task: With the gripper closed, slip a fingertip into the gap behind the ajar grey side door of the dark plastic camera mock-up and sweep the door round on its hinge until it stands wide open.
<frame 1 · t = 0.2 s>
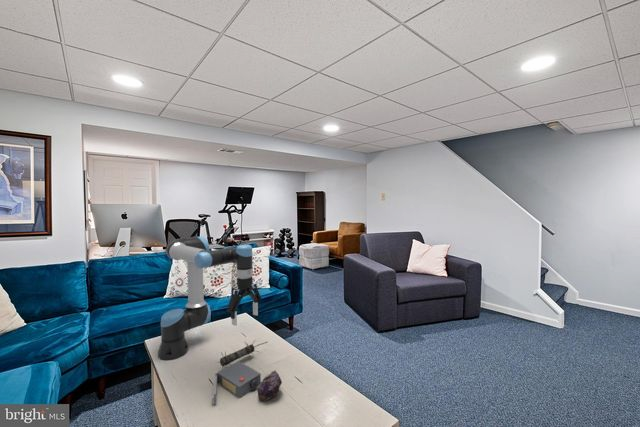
hand: (245, 319, 137), 28 cm above the table, fingers open, 13 cm apart
camera body: (238, 383, 131), on the table
bomb: (244, 360, 151), on the table
rock: (271, 395, 123), on the table
side door: (215, 388, 124), point 3 cm above the table, hinge at 35.0°
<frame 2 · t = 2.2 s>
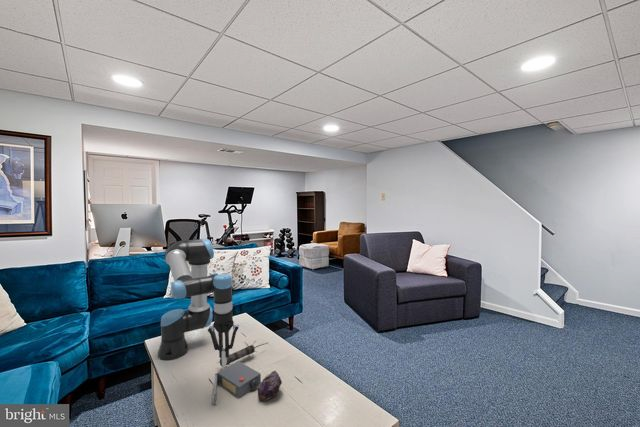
hand: (224, 364, 121), 15 cm above the table, fingers closed
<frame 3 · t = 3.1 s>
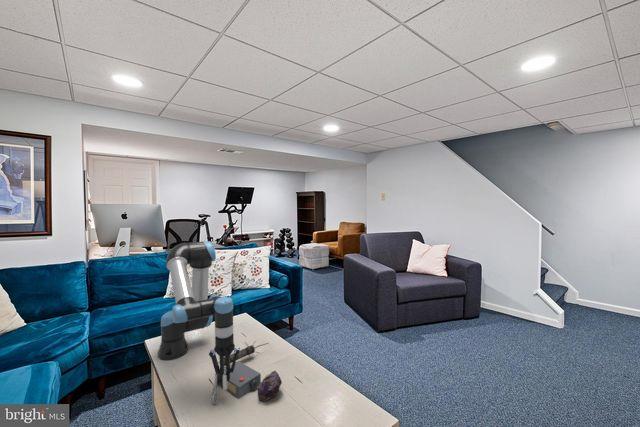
hand: (225, 387, 121), 5 cm above the table, fingers closed
nothing on the table moved.
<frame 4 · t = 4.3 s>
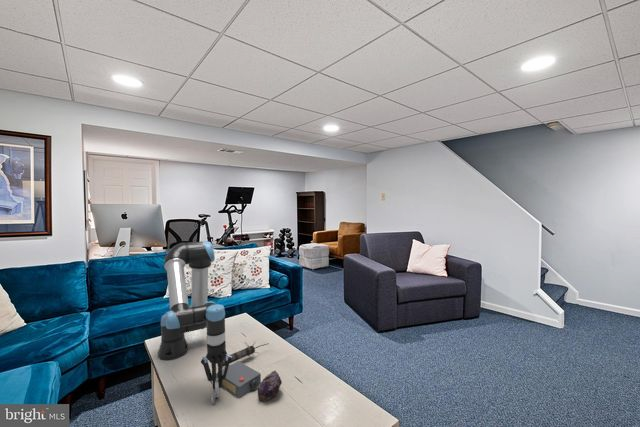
hand: (217, 394, 121), 2 cm above the table, fingers closed
side door: (214, 388, 124), point 2 cm above the table, hinge at 36.0°, touching gripper
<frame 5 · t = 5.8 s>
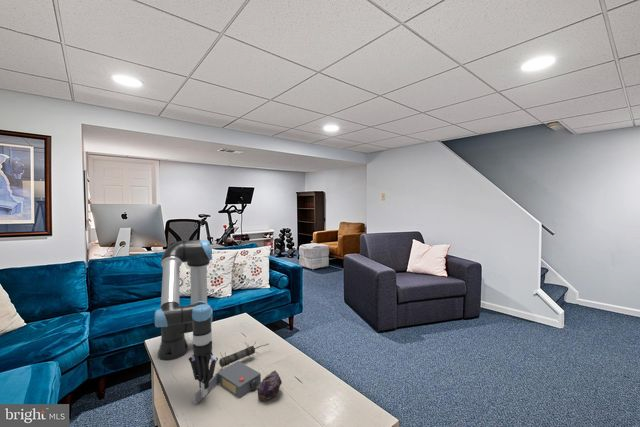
hand: (204, 395, 121), 2 cm above the table, fingers closed
side door: (206, 388, 124), point 2 cm above the table, hinge at 67.5°, touching gripper
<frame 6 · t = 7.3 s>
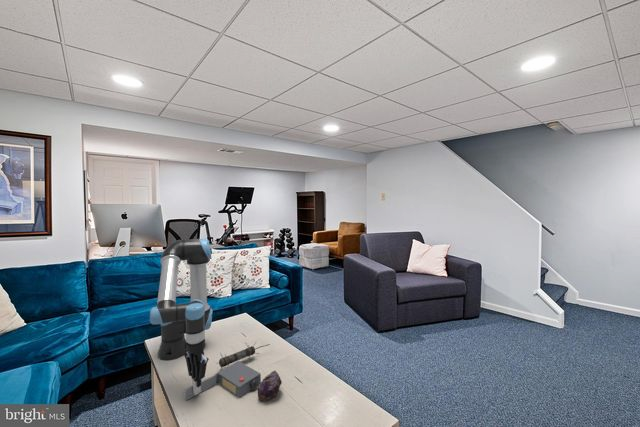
hand: (197, 392, 122), 2 cm above the table, fingers closed
side door: (201, 386, 125), point 3 cm above the table, hinge at 93.0°, touching gripper
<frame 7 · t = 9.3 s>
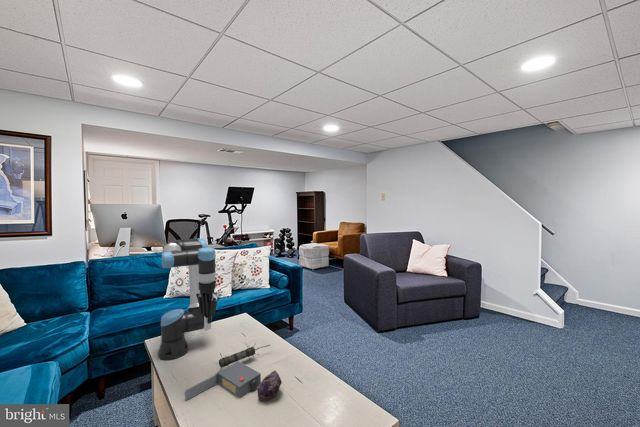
hand: (207, 329, 133), 25 cm above the table, fingers closed
side door: (201, 386, 125), point 2 cm above the table, hinge at 93.1°
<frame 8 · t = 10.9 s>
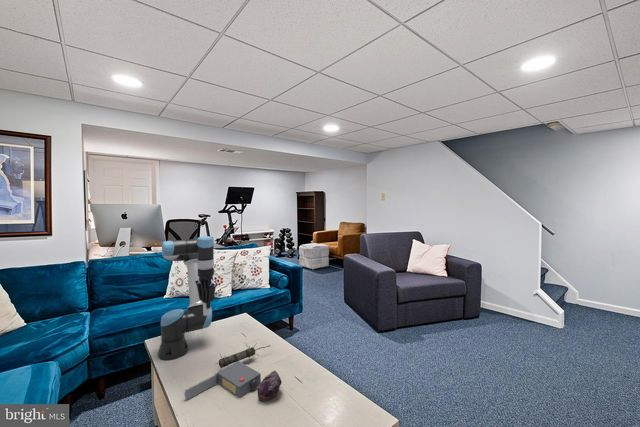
hand: (206, 314, 139), 29 cm above the table, fingers closed
at the end: side door at +93° (first picture: +35°); side door touching nothing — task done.
